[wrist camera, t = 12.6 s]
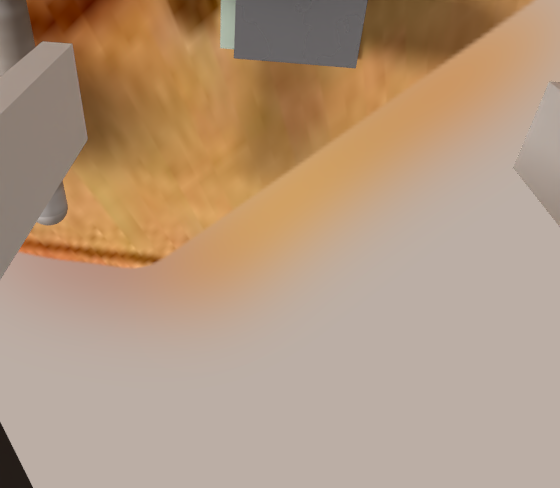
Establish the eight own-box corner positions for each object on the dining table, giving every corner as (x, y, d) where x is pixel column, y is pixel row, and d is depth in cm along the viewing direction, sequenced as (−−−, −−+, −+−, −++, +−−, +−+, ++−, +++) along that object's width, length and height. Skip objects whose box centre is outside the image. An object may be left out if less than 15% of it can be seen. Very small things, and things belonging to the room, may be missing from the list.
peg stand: (-6, -211, 26) (-267, -279, 14) (129, -196, 27) (0, -248, 14) (59, 128, 38) (-49, 263, 25) (153, 135, 38) (94, 271, 25)
